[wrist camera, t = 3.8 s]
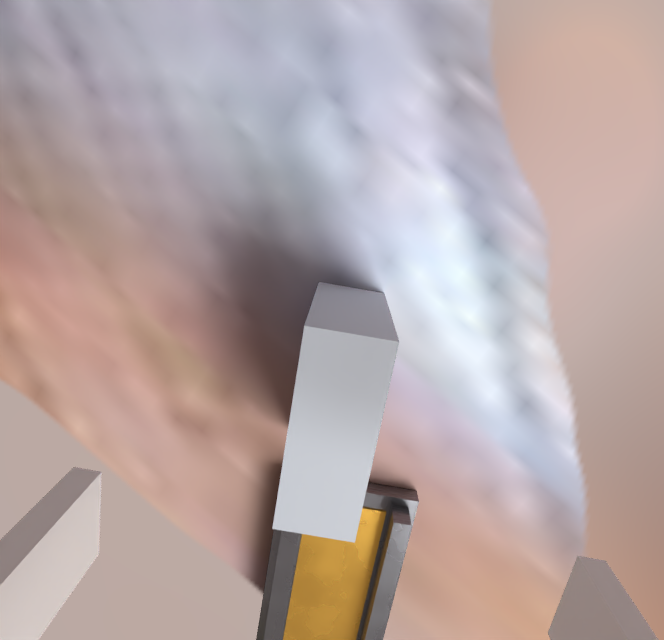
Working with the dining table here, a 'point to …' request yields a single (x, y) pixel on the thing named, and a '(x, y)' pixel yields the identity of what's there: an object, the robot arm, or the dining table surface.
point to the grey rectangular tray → (339, 574)
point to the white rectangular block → (336, 412)
